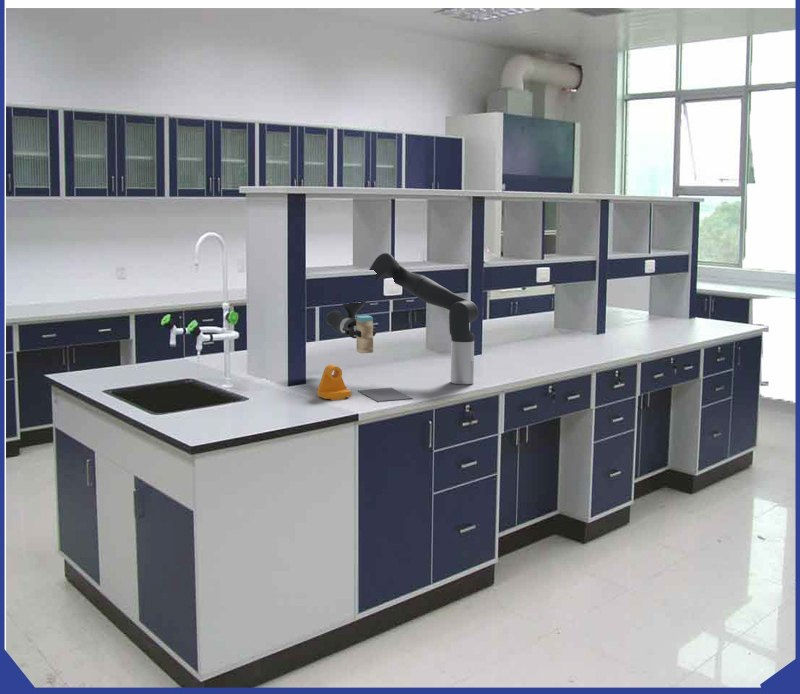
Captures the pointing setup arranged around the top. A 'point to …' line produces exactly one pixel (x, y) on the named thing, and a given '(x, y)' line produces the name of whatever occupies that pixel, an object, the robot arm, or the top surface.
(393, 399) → the rubber mat
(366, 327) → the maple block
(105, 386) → the top surface
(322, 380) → the bracket
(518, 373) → the top surface
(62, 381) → the top surface
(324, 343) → the top surface
